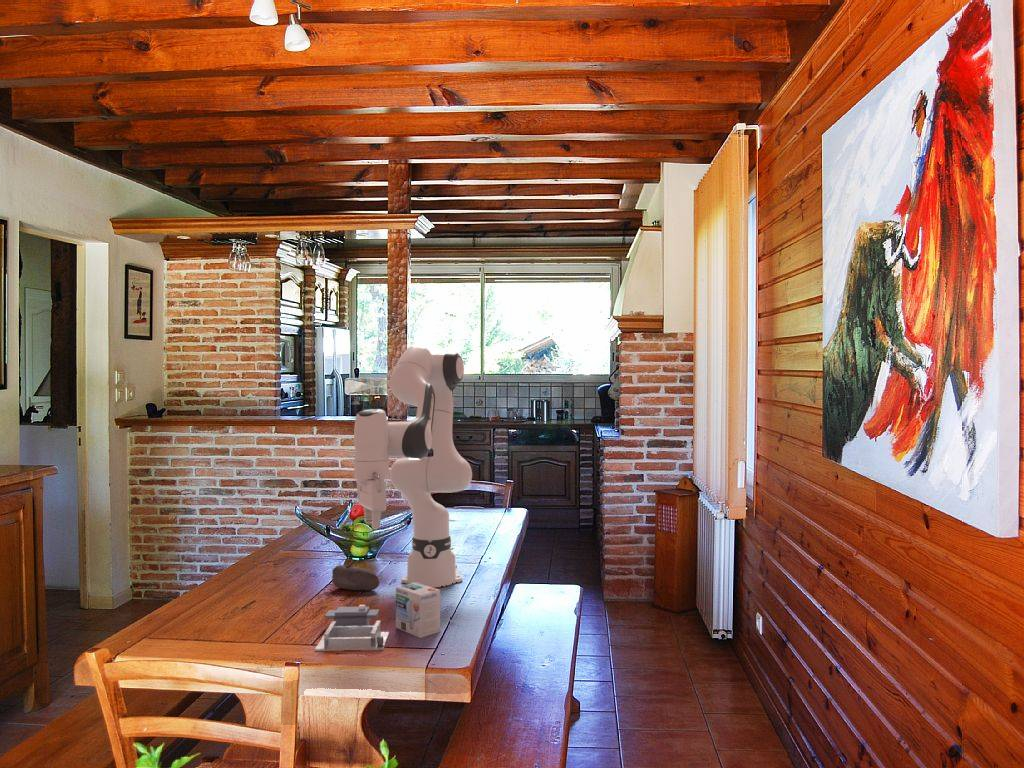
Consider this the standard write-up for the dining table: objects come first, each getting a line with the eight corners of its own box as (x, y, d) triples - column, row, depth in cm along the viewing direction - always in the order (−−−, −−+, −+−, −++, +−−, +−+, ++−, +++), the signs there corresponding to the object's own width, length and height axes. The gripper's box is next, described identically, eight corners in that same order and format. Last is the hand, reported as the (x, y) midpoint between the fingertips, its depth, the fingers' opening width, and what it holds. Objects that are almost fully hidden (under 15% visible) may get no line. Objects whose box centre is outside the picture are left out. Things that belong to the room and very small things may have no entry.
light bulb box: (394, 628, 195) (394, 586, 194) (416, 621, 199) (415, 581, 199) (420, 638, 187) (420, 595, 187) (441, 631, 192) (441, 589, 191)
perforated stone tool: (383, 589, 228) (383, 566, 228) (374, 594, 224) (374, 571, 223) (340, 585, 234) (339, 562, 233) (330, 590, 229) (330, 567, 228)
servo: (328, 626, 197) (328, 603, 197) (379, 625, 197) (379, 602, 197) (325, 632, 192) (324, 608, 192) (376, 631, 193) (376, 608, 192)
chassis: (325, 634, 190) (325, 620, 190) (389, 633, 190) (389, 619, 190) (314, 651, 179) (314, 635, 179) (382, 650, 179) (382, 634, 179)
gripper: (392, 473, 187) (393, 529, 187) (376, 469, 206) (377, 520, 206) (366, 474, 185) (367, 531, 184) (352, 470, 204) (353, 522, 203)
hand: (372, 525), depth 195 cm, fingers open, 8 cm apart
